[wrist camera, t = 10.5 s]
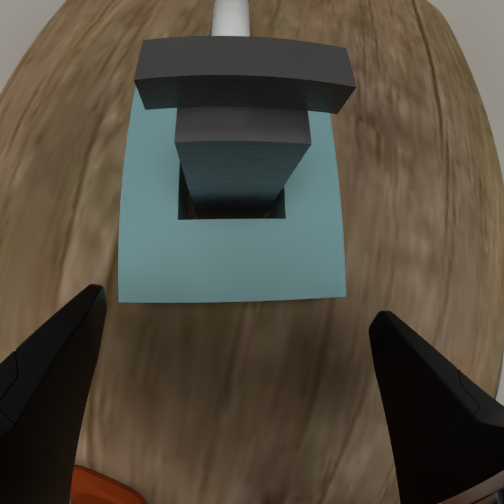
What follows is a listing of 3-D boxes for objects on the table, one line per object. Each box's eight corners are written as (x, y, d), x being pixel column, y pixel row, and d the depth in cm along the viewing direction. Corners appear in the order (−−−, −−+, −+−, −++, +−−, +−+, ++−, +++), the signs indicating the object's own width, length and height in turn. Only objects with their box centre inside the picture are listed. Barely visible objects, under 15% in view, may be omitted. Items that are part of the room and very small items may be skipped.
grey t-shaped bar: (274, 222, 21) (364, 122, 7) (184, 224, 20) (126, 116, 6) (271, 167, 21) (338, 24, 8) (185, 167, 20) (150, 16, 7)
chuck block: (320, 294, 20) (346, 296, 16) (140, 298, 19) (118, 302, 15) (293, 28, 23) (304, -4, 18) (165, 26, 22) (160, -8, 17)
